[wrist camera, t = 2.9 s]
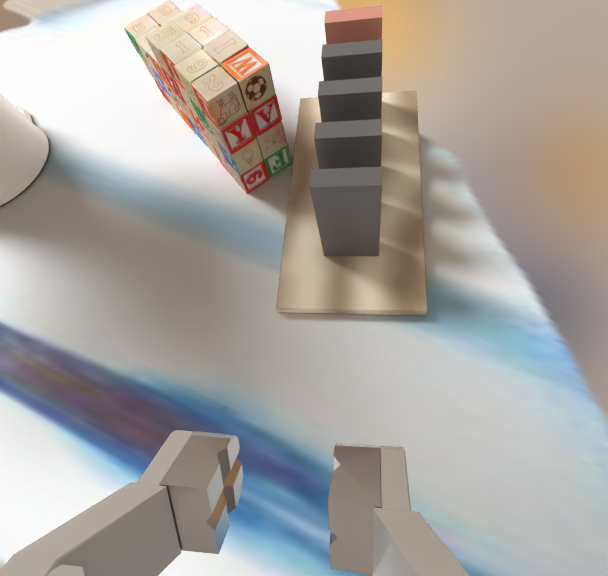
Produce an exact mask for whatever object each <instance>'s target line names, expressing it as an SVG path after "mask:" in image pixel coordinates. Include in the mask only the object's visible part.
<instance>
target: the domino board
mask: <svg viewBox="0 0 608 576" xmlns="http://www.w3.org/2000/svg"><path fill="white" fill-rule="evenodd" d="M381 119H382V152H381V167H382V199H381V221H380V242H379V256H324V253H323V249H322V244H321V239H320V234H319V230H318V225H317V220H316V216H315V211H314V206H313V201H312V197H311V192H310V177H311V169H319V166H318V160H317V154H316V148H315V142H314V133H315V123H322V121H321V114H320V107H319V100H318V98H303V99H300V107H299V116H298V125H297V133H296V142H295V150H294V159H293V167H292V176H291V185H290V193H289V202H288V210H287V219H286V228H285V236H284V245H283V253H282V262H281V270H280V279H279V288H278V296H277V305H276V308H277V310H278V312H288V313H331V314H374V315H418V316H425V315H426V313H427V296H426V276H425V256H424V235H423V215H422V195H421V175H420V154H419V134H418V114H417V94H416V91H404V92H389V93H382V110H381Z"/></svg>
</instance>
